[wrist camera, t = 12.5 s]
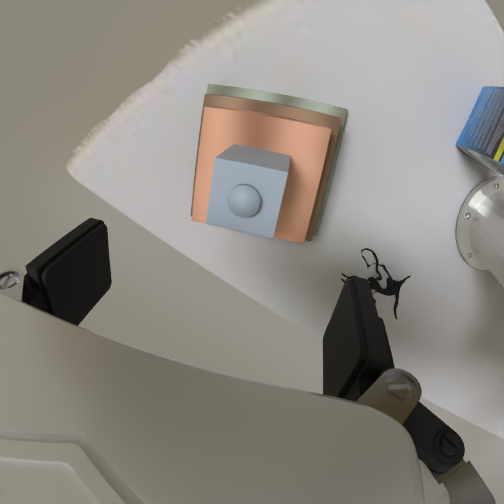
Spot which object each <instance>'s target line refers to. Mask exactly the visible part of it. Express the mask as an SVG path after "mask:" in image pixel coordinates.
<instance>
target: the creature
mask: <svg viewBox="0 0 504 504" xmlns="http://www.w3.org/2000/svg"><path fill="white" fill-rule="evenodd" d="M363 250H369V251H372V250H370V249H367V248H366V249H363ZM363 250H361V252H362V251H363ZM372 253H373V255H374V257H375V259H376V263H374V264H376V272H377V273H378V274H379V277H376V279H377V280H382V276H381V274H380V272H379V271H378V265H379V264H378V259H377V256H376V254H375V253H374V252H373V251H372ZM361 255H362V253H361ZM362 257H363V256H362ZM363 259H364V260H365V258H364V257H363ZM365 261H366V260H365ZM366 264H367V262H366ZM371 265H372V264H371ZM369 266H370V265H368V264H367V267H368V268H369ZM379 266H382V267H383V268H384V270H385V271H386V272H387V274H388V275H389V273H388V271H387V270H386V267H385V265H379ZM342 275H343V276H345V277H347V276H346V275H344V274H343V273H342ZM352 277H353V276H351V277H347V278H348V279H351V278H352ZM354 277H357V276H354ZM409 277H411V276H408V277H406V278H405V279H403V280H400V281H395V280H393V279H392V278H391V276H390V275H389V278H387V287H386V288H385V289H383V288H381V286H380V285H379V283H378V281H377V280H376V279H375V278H373V277H369V278H368V281H369V282H370V283H369V284H370V288H371V290H373V289H374V290H376V291H375V292H378V293H381V294H384V295H387V296H391V295H395V297H396V299H395V305H394V315H395V318H396V319H398V318H397V316H396V308H397V305H398V298H399V291H400V287H401V285H402V284H403V283H404V282H405V280H406V279H408V278H409ZM341 280H342V281H343V282H344V283H345V281H344V280H343V279H341ZM372 294H373V293H372ZM373 299H374V298H373ZM374 302H375V303H376V300H375V299H374Z"/></svg>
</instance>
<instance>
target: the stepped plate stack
mask: <svg viewBox="0 0 504 504" xmlns="http://www.w3.org/2000/svg"><path fill="white" fill-rule="evenodd" d="M347 110H348V109H344V108H340V107H336V106H333V105H328V104H324V103H320V102H316V101H311V100H307V99H302V98H297V97H292V96H287V95H282V94H277V93H271V92H265V91H259V90H252V89H245V88H238V87H230V86H222V85H212V84H208V88H207V94H205V97H204V104H203V111H202V118H201V125H200V133H199V141H198V149H197V158H196V167H195V176H194V186H193V196H192V207H191V217H192V221H196V222H201V223H206V219H207V211H208V204H209V196H210V189H211V182H212V175H213V168H214V161H215V157H217V156H218V155H219V154H221V153H222V152H223V151H225V150H226V149H228V148H229V147H230V146H232V145H233V144H238V145H243V146H248V147H254V148H259V149H263V150H268V151H273V152H278V153H282V154H287V155H290V162H289V170H288V175H287V180H286V184H285V189H284V193H283V197H282V202H281V206H280V210H279V215H278V219H277V223H276V228H275V232H274V236H273V237H274V238H279V239H283V240H288V241H293V242H297V243H302V244H304V241H305V240H307V241H311V239H312V236H313V235H317V232H318V228H319V224H320V221H321V217H322V213H323V209H324V206H325V202H326V198H327V194H328V190H329V186H330V182H331V178H332V174H333V170H334V166H335V162H336V158H337V154H338V150H339V145H340V141H341V137H342V132H343V128H344V123H345V119H346V114H347Z"/></svg>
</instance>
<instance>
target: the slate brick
mask: <svg viewBox="0 0 504 504" xmlns="http://www.w3.org/2000/svg"><path fill="white" fill-rule="evenodd" d="M289 162H290V155H287V154H282V153H278V152H273V151H268V150H263V149H259V148H254V147H248V146H243V145H238V144H233V145H232V146H230V147H229V148H228V149H226V150H225V151H223V152H222V153H221V154H219V155H218V156H217V157H215V161H214V168H213V175H212V182H211V189H210V196H209V204H208V211H207V219H206V224H209V225H214V226H218V227H223V228H227V229H232V230H236V231H241V232H245V233H250V234H254V235H259V236H263V237H267V238H272V239H273V236H274V232H275V228H276V223H277V219H278V215H279V210H280V206H281V202H282V197H283V193H284V189H285V184H286V180H287V175H288V170H289Z"/></svg>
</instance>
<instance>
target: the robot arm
mask: <svg viewBox="0 0 504 504" xmlns="http://www.w3.org/2000/svg"><path fill="white" fill-rule="evenodd" d="M456 240H457V245H458V249H459V251H460V253H461V255H462V256H463V258H464V259H465V260H466V261H467V262H468V263H469V264H470V265H471V266H472V267H474V268H476V269H479V270H489V271H490V272H491V273H492V274H493V276H494V277H495V278H496V279H497V280H498V282H499V283H500V284H501V285H502V287H503V288H504V177H493V178H490V179H487V180H485V181H483V182H482V183H480V184H479V185H478V186H477V187H476V188H474V189H473V191H472V192H471V193H470V194H469V195H468V197H467V199H466V200H465V202H464V204H463V206H462V208H461V211H460V213H459V217H458V221H457V228H456ZM26 270H27V274H26V275H25V276H24V274H23V272H22V271H21V270H19V269H7V270H4V271H2V272H0V504H496V503H495V499H494V497H493V495H492V493H491V492H490V490H489V489H488V487H487V486H486V484H485V483H484V481H483V480H482V478H481V477H480V475H479V474H478V472H477V471H476V469H475V468H474V466H473V465H472V464H471V462H470V461H467V462H465V461H464V459H463V456H464V452H465V448H464V443H463V441H462V439H461V437H460V436H459V435H458V434H457V433H456V432H455V431H454V430H452V429H451V428H450V427H449V426H448V425H446V424H445V423H444V422H443V421H442V420H440V419H439V418H438V417H437V416H436V415H434V414H433V413H432V412H431V411H430V410H428V409H427V408H426V407H425V406H423V404H421V403H420V402H419V400H420V397H421V395H422V389H421V386H420V383H419V382H418V380H417V379H416V378H415V377H414V376H413V375H412V374H411V373H409V372H407V371H405V370H402V369H396V368H395V367H394V363H393V358H392V354H391V350H390V346H389V341H388V337H387V333H386V330H385V326H384V322H383V320H382V318H380V317H378V314H377V310H376V306H375V302H374V299H373V295H372V291H371V288H370V284H369V281H368V280H367V279H363V278H359V277H354V276H353V277H352V278H351V280H349V279H347V280H346V281H345V284H344V286H343V289H342V291H341V294H340V297H339V299H338V302H337V304H336V307H335V309H334V312H333V314H332V317H331V319H330V322H329V324H328V326H327V329H326V331H325V334H324V337H323V394H318V393H313V392H308V391H302V390H298V389H293V388H287V387H282V386H277V385H273V384H268V383H263V382H259V381H254V380H250V379H245V378H241V377H237V376H233V375H229V374H225V373H221V372H217V371H213V370H209V369H205V368H202V367H198V366H194V365H191V364H188V363H184V362H180V361H177V360H174V359H171V358H167V357H164V356H161V355H158V354H155V353H151V352H148V351H145V350H142V349H139V348H136V347H133V346H130V345H127V344H125V343H122V342H119V341H116V340H114V339H111V338H108V337H106V336H103V335H100V334H98V333H95V332H92V331H90V330H87V329H85V328H82V327H79V326H78V325H79V324H80V322H81V321H82V320H83V319H84V318H85V316H86V315H87V314H88V313H89V312H90V311H91V309H92V308H93V307H94V306H95V305H96V303H97V302H98V301H99V300H100V299H101V298H102V297H103V295H104V294H105V293H106V292H107V291H108V290H109V288H110V286H111V282H112V281H111V270H110V260H109V247H108V232H107V226H106V225H105V224H104V222H103V221H102V220H97V219H93V218H89V219H88V220H86V221H85V222H83V223H82V224H81V225H79V226H78V227H76V228H75V229H73V230H72V231H71V232H69V233H68V234H67V235H65V236H64V237H62V238H61V239H60V240H58V241H57V242H56V243H54V244H53V245H52V246H50V247H49V248H48V249H46V250H45V251H44V252H43V253H41V254H40V255H39V256H37V257H36V258H35V259H34V260H32V261H31V262H30V263H29V264H27V265H26Z"/></svg>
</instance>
